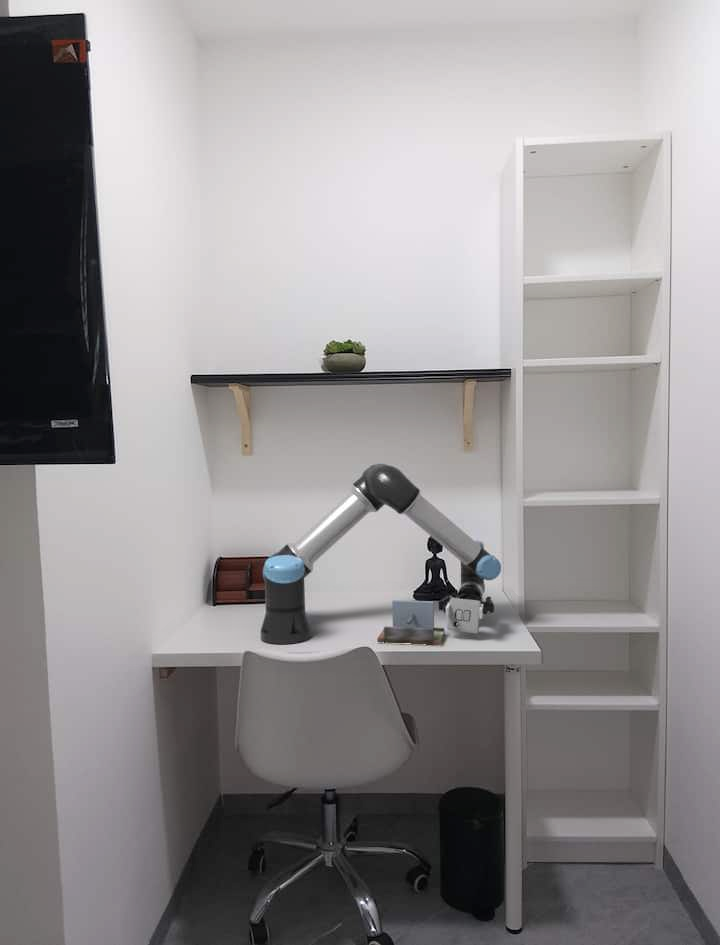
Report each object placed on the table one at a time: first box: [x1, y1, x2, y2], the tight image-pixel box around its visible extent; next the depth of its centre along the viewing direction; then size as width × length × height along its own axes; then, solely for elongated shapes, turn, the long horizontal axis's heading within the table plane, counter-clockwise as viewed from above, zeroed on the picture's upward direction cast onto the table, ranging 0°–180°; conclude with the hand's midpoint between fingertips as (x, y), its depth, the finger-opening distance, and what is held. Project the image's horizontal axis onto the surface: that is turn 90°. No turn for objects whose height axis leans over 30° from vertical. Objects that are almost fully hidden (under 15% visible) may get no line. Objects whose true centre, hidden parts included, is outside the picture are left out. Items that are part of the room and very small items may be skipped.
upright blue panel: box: [392, 599, 445, 631], centre depth 207 cm, size 15×8×8 cm, turn 77°
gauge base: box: [376, 626, 446, 646], centre depth 207 cm, size 18×10×4 cm, turn 77°
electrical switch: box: [446, 597, 481, 634], centre depth 208 cm, size 9×5×9 cm, turn 62°
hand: (463, 613), depth 204 cm, fingers closed on electrical switch, 9 cm apart
